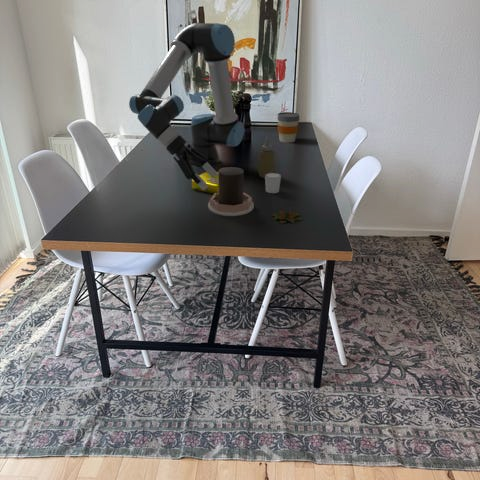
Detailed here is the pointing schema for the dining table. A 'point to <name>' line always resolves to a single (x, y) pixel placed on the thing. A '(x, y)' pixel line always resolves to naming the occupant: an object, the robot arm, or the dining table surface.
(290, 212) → the succulent plant
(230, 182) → the pillar candle
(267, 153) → the squeeze bottle
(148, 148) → the dining table surface
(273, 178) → the shot glass
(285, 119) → the reusable coffee cup
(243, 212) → the pink round shallow dish
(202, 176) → the yellow square box
